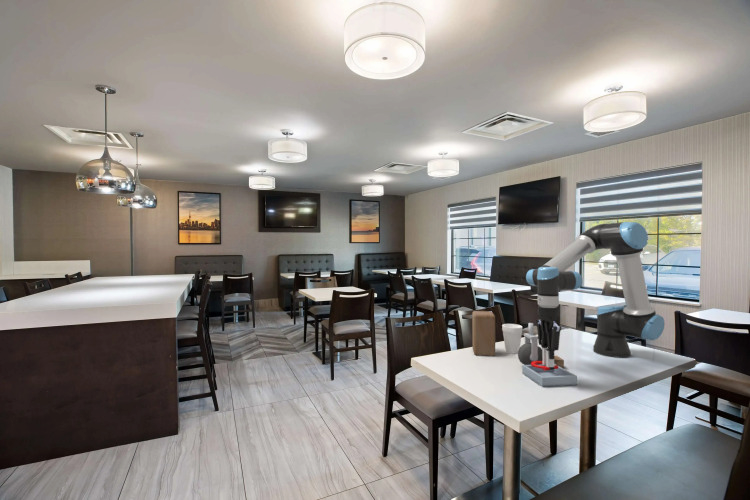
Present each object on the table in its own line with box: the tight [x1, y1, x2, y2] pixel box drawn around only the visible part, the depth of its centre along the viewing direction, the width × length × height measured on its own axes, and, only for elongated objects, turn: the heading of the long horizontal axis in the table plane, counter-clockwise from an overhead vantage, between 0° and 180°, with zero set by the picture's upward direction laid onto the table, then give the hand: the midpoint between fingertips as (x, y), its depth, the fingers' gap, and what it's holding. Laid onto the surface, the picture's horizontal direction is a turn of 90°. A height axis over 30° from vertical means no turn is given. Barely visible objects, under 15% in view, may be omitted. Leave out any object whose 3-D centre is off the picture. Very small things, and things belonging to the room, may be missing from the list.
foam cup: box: [501, 323, 523, 355], centre depth 172 cm, size 10×9×13 cm
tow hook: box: [531, 361, 559, 371], centre depth 140 cm, size 8×13×9 cm
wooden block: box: [471, 310, 496, 357], centre depth 170 cm, size 10×10×20 cm
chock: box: [554, 355, 565, 369], centre depth 151 cm, size 7×6×4 cm
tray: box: [521, 364, 578, 388], centre depth 136 cm, size 14×14×4 cm
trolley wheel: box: [517, 322, 543, 365], centre depth 150 cm, size 10×6×19 cm, turn 96°
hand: (548, 365), depth 136 cm, fingers closed on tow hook, 2 cm apart
